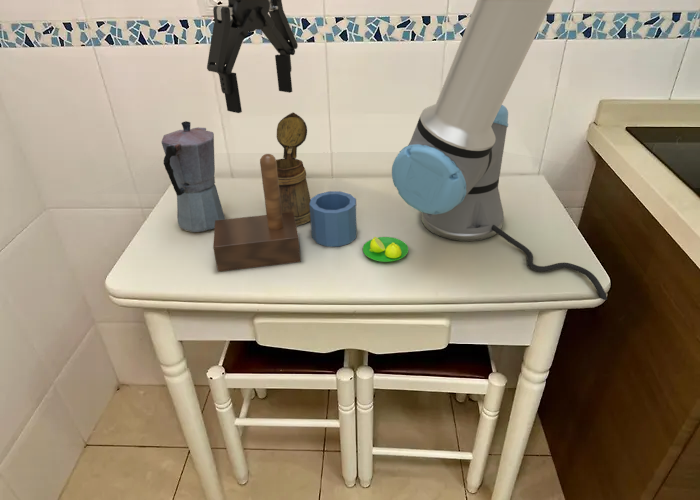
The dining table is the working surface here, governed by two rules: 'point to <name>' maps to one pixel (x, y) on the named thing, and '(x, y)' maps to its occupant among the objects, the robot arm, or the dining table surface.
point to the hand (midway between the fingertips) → (261, 101)
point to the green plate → (385, 249)
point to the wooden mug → (293, 169)
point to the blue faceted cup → (333, 218)
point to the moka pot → (193, 177)
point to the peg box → (258, 231)
